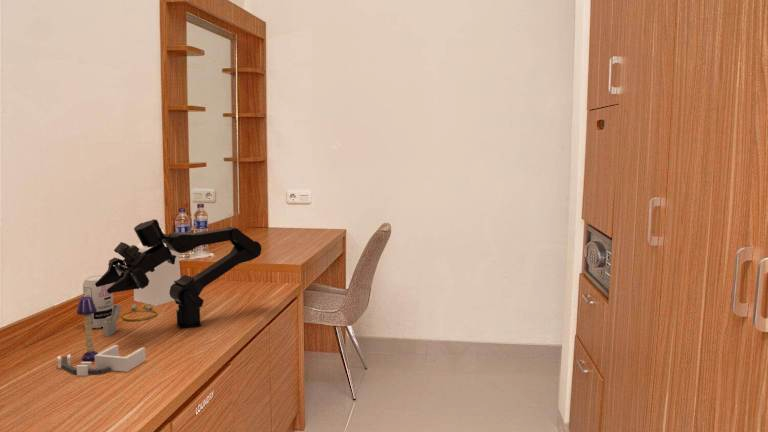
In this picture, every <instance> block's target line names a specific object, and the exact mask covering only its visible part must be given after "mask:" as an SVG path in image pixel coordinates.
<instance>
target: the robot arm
mask: <svg viewBox="0 0 768 432" xmlns="http://www.w3.org/2000/svg"><path fill="white" fill-rule="evenodd" d="M161 229H162V228H161V227H160V223H159V221H158V219H154V218H153V219H151V220H147V221H145V222H141V223H138V224H136V226H135V227H134V228H133V230H134V232H135V234H136V236H137V238H138V240H139V241H140V242H141V243H142V245H143V246H147V247H151V248H149V249H148V250H146V251H144V252H143V253H142V252H139V248H138V247H137V246H138V245H134V244H132V245H129V244H128V243H125V242H123V241H121V242H120V243H119V244H118V245H117V246H116V247H115V248H114V249H113V251H114V252H115V253H116V254H118V255H120V256H121V257H122V258H123V259H121V258H119V257H113V258H111V259H109V260H108V267H107V270H106V272H104V274H103V275H101V276H102V277H101V278H100V279H99V280H98V281H97V282H96V283H95V285H96V287H100V286H104V285H107V284H111V283H112V286H111V287H109V288H108V289H107V292H108V293H113V294H115V293H119V292H125V291H130V290H132V291H134V289H139V288H141V289H143V288H145V287H146V286H148V284H149V279H148V277H147V276H146V273H147V272H149V271H150V272H153V271H155V269H154V268H155V267H157V266H159V265H160V264H162V263H164V262H165V261H167V262H168V263H171V264H175V258H176V256H175V255H172V253H171V251H170V250H172V251H175V252H178V254H184V253H187V252H190V251H193V250H195V249H196V248H198V247H200V246H205V245H212V244H217V243H223V242H228V241H229V242H230V243H231V245H232V246H233V247H232V249H231V250H230V252H229V253H227V254H226V255H225V256H223V257H222V258H220V259H218V260H217V261H216V262H214V263H212V264H210V266H208V267H207V268H204V269H203V270H202V271H200V272H199V273H197V274H196V275H194V276H189V275H187V274H184V275H182V276H181V278H180V279H179V280H176V281H174V282H175V283H174V284H173V285H172V286H171V287H170V296H171V298H172V299H174V300H175V301H174V302H175V304H176V305H177V308H178V309H176V312H175V313H176V325H177V326H178V328H179V329H184V328H192V327H193V328H194V327H201V326H202V323H201V308H202V307H203V304H204V302H205V301H204V299H203V298H202V297H200V295H201V293H202V291H203V289H204V288H206V287H207V286H208V285H210V284H211V283H213V282H215V281H216V280H218V279H219V278H220V277H221V276H223V275H225V274H226V273H227V272H229V271H231V270H232V269H233V268H235V267H236V266H238V265H240V264H243V263H247V262H250V261H253V260H254V259H256V258H258V257H259V256H261V254H262V245H261V243H260V242H259V241H257V240H253V239H252V238H251V237H249V236H248V235H246V234H245V233H244V232H242V231H241V230H240V229H238V228H236V227H232V226H228V227H225V228H217V229H211V230H207V231H199V232H184V231H182V232H180V231H179V232H178V231H174V232H170V233H168V234H166V233H164V234H163V232H162V230H161ZM163 243H165V244H166V246H167V247H165V245H164V244H163Z"/></svg>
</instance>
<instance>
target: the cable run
mask: <svg viewBox="0 0 768 432" xmlns="http://www.w3.org/2000/svg"><path fill="white" fill-rule="evenodd" d="M61 369H63V370H64V371H66V372H68V373H70V374H73V375H77V367H74V366H72V365H71V366H70V365H68V359H67V355H66V356H61ZM111 371H112V370H111V369H110V367H105V368H101V369H95V368H92V369H88V375H101V374H102V375H103V374H106V373H110V372H111Z"/></svg>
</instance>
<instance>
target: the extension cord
mask: <svg viewBox="0 0 768 432" xmlns="http://www.w3.org/2000/svg"><path fill="white" fill-rule="evenodd" d="M142 308H143V309H144V310H137V309H138V304H137V303H134V304H132V305H131V306H130V310H129V311H128V312H124V313H122V314H121V315H120V318H122V319H123V321H125V320H126V322H142V320H143V321H147V320H150V319H153V318H156V317H157V316H158V315H159V313H158V311H156V310H154V309H153V308H154V307H153V306H151V305H150V304H146V303H144V305H143V306H142ZM135 312H138V313H139V312H140V313H141V312H143V313H144V312H149V313H150V312H151V313H154V314H153V315H150V316H146V317H145V316H144V317H142V318H126V317H123V316H125V315H126V314H130V313H135ZM122 315H123V316H122ZM122 319H121V320H122Z"/></svg>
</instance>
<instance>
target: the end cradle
mask: <svg viewBox="0 0 768 432" xmlns="http://www.w3.org/2000/svg"><path fill="white" fill-rule="evenodd" d="M145 361H147V360H146V347H140V348H138V349H136V350H134V351H133V352H131V353H129V354H127V355H126V356H120V354H119V344H114V345H112V346H110V347H108V348H105V350H102V351H101V352H99V353H98V354H97V355H95V360H94V369H101V368H105V367H110V369H111V371H114V372H121V373H122V372H124V373H128V372H130V371H131V370H133V369H134V368H136V367H137V366H139V365H141V364H142V363H144V362H145Z"/></svg>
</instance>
